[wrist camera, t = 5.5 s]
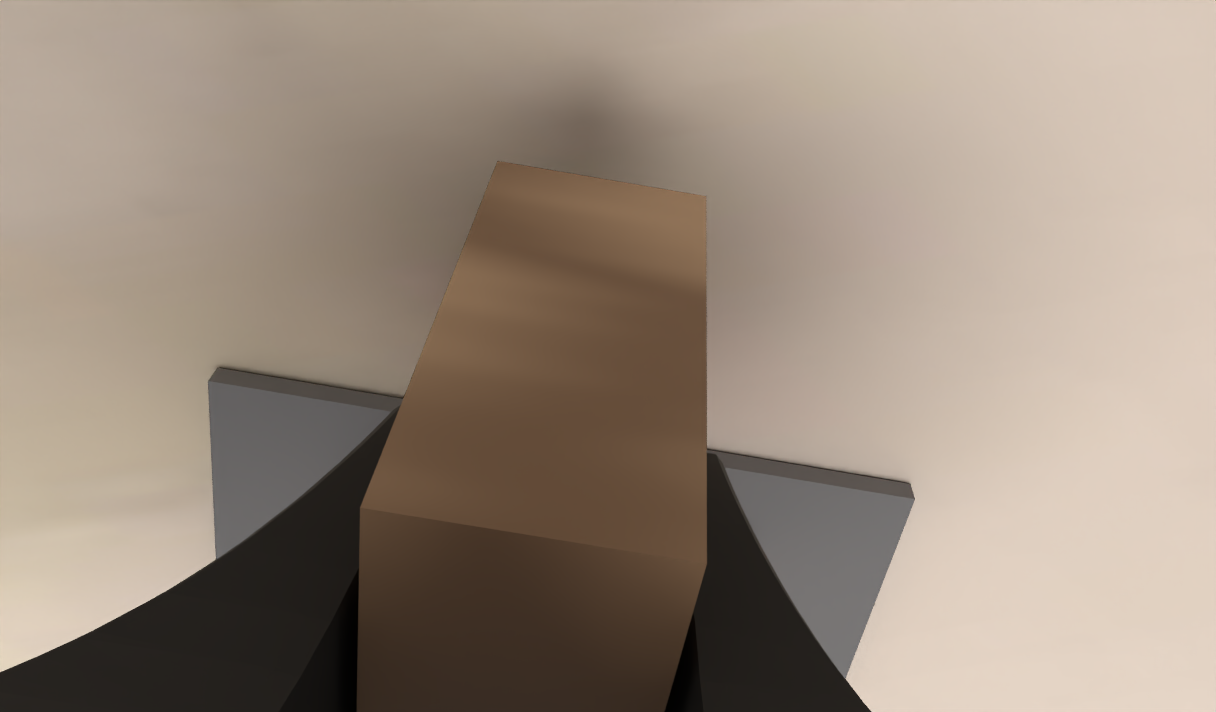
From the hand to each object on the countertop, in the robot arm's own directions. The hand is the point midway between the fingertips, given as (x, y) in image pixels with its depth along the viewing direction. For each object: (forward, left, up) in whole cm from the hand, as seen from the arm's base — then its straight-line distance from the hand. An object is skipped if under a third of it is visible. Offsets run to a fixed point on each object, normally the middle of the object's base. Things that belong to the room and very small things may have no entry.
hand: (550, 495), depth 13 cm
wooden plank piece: (0, -2, -2) cm, 3 cm away
